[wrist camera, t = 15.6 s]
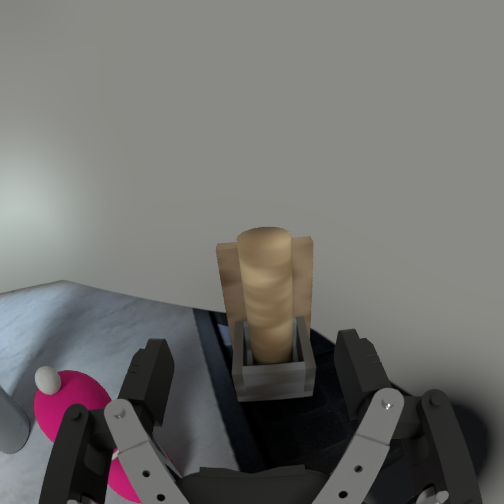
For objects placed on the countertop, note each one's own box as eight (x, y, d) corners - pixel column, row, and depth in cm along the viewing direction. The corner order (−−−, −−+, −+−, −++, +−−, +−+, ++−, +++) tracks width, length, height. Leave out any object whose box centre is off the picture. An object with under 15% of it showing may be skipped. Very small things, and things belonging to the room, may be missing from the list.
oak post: (254, 383, 27) (235, 250, 20) (253, 355, 31) (237, 229, 24) (294, 380, 27) (294, 245, 20) (290, 352, 31) (287, 225, 24)
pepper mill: (118, 498, 17) (-15, 392, 8) (135, 450, 23) (39, 325, 14) (179, 518, 16) (50, 439, 7) (193, 464, 22) (110, 340, 13)
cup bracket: (233, 418, 28) (203, 299, 20) (236, 358, 37) (217, 243, 29) (318, 411, 28) (336, 289, 20) (306, 353, 37) (310, 236, 29)
